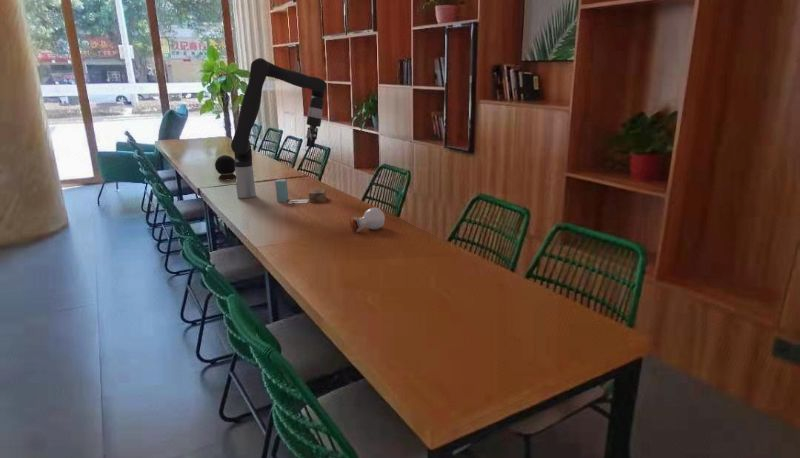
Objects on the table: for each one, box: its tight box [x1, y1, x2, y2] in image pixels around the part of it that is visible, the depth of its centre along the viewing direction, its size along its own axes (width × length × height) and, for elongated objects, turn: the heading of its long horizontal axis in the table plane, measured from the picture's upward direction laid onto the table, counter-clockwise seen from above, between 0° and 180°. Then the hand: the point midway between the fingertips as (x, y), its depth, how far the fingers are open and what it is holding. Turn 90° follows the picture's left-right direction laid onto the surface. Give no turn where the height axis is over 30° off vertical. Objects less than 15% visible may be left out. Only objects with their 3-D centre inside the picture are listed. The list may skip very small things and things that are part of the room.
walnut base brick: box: [308, 188, 327, 203], centre depth 275 cm, size 8×8×5 cm
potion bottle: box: [349, 207, 386, 233], centre depth 221 cm, size 9×10×15 cm
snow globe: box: [214, 154, 236, 181], centre depth 337 cm, size 13×13×15 cm
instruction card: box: [287, 198, 309, 205], centre depth 273 cm, size 10×7×1 cm
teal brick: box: [274, 178, 289, 203], centre depth 275 cm, size 5×5×11 cm
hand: (310, 146), depth 282 cm, fingers open, 8 cm apart
